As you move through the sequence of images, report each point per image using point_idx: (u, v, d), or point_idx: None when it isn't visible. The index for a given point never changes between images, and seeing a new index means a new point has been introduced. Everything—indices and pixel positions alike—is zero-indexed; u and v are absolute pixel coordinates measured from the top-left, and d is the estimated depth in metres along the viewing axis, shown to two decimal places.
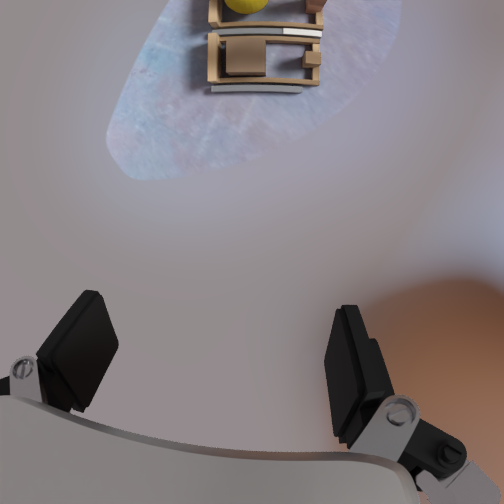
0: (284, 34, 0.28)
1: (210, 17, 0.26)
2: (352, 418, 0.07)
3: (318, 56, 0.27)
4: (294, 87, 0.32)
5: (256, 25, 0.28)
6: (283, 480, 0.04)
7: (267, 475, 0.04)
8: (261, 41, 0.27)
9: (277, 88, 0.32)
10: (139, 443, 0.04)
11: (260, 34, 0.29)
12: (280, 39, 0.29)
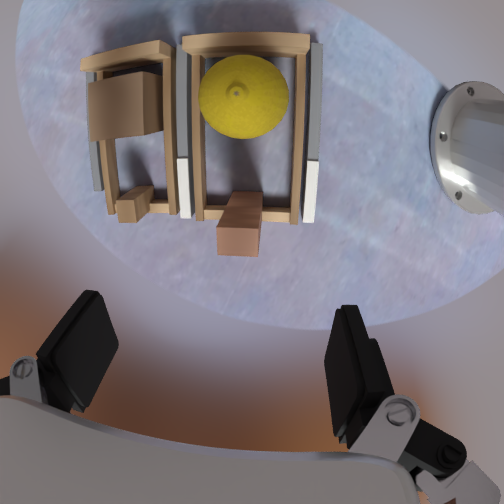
0: None
1: (192, 38, 0.14)
2: (352, 418, 0.07)
3: (129, 219, 0.21)
4: (98, 180, 0.22)
5: None
6: (283, 480, 0.04)
7: (266, 475, 0.04)
8: (136, 129, 0.17)
9: (93, 157, 0.21)
10: (139, 443, 0.04)
11: None
12: (166, 154, 0.20)
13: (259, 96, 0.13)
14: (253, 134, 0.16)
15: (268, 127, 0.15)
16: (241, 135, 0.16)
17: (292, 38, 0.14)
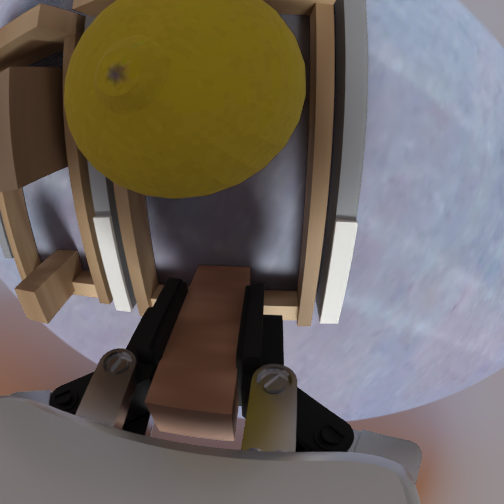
0: (99, 216, 0.11)
1: None
2: None
3: (38, 317, 0.11)
4: (5, 243, 0.12)
5: None
6: (283, 480, 0.04)
7: (267, 475, 0.04)
8: (8, 179, 0.07)
9: None
10: (139, 443, 0.04)
11: None
12: (77, 209, 0.11)
13: (210, 74, 0.03)
14: (209, 192, 0.06)
15: (251, 171, 0.06)
16: (176, 198, 0.06)
17: None
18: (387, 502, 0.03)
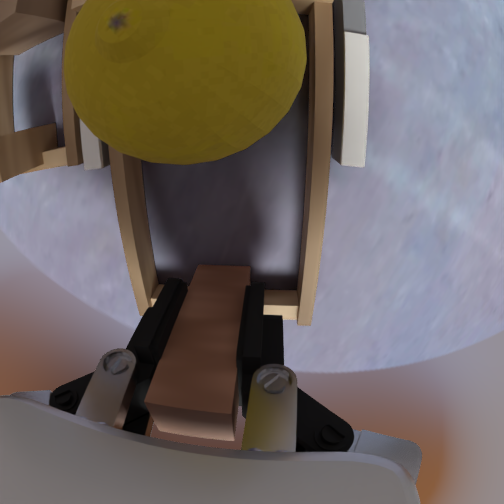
0: None
1: None
2: None
3: None
4: None
5: None
6: (283, 480, 0.04)
7: (266, 475, 0.04)
8: (8, 9, 0.04)
9: None
10: (139, 443, 0.04)
11: None
12: (64, 53, 0.07)
13: (211, 22, 0.03)
14: (211, 154, 0.05)
15: (253, 131, 0.05)
16: (175, 160, 0.05)
17: None
18: (387, 502, 0.03)
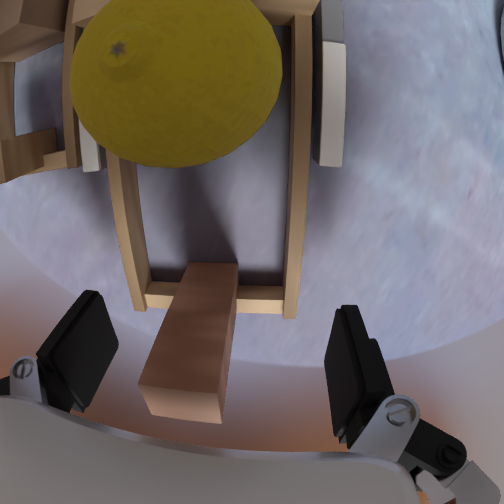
0: None
1: (89, 0, 0.05)
2: (352, 418, 0.07)
3: None
4: None
5: None
6: (283, 480, 0.04)
7: (267, 476, 0.04)
8: (12, 19, 0.05)
9: None
10: (139, 443, 0.04)
11: None
12: (64, 62, 0.08)
13: (194, 48, 0.04)
14: (196, 158, 0.06)
15: (232, 138, 0.06)
16: (166, 164, 0.06)
17: None
18: (387, 502, 0.03)
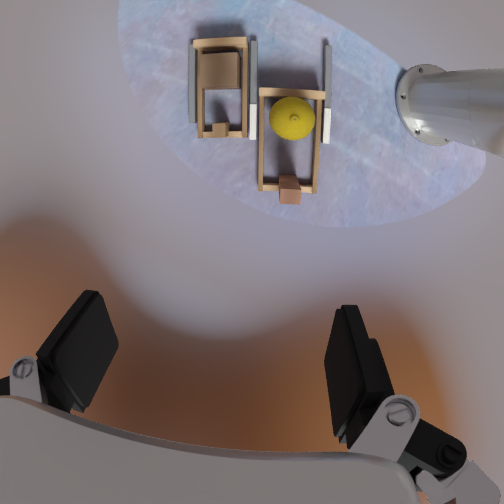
0: (250, 105, 0.34)
1: (264, 89, 0.31)
2: (352, 418, 0.07)
3: (220, 135, 0.34)
4: (193, 115, 0.35)
5: (259, 130, 0.35)
6: (283, 480, 0.04)
7: (266, 475, 0.04)
8: (232, 83, 0.30)
9: (191, 101, 0.34)
10: (139, 443, 0.04)
11: None
12: (243, 101, 0.34)
13: (304, 120, 0.29)
14: (299, 138, 0.32)
15: (306, 134, 0.32)
16: (293, 138, 0.32)
17: (316, 93, 0.31)
18: (387, 502, 0.03)
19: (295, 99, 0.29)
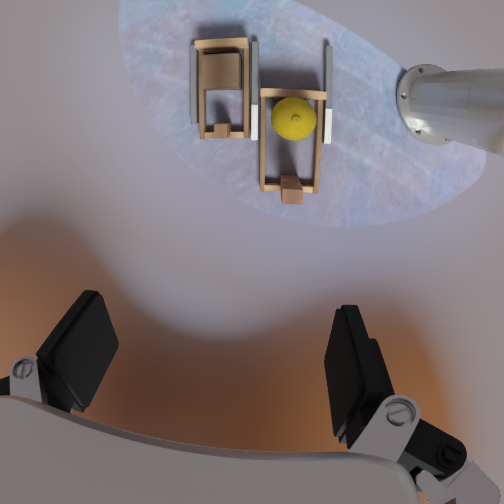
0: None
1: (266, 90, 0.31)
2: (352, 418, 0.07)
3: (222, 135, 0.34)
4: (195, 116, 0.35)
5: None
6: (283, 480, 0.04)
7: (267, 475, 0.04)
8: (234, 83, 0.30)
9: (193, 101, 0.34)
10: (139, 443, 0.04)
11: (252, 84, 0.33)
12: (244, 102, 0.34)
13: (305, 120, 0.29)
14: (300, 138, 0.32)
15: (307, 135, 0.32)
16: (295, 138, 0.32)
17: (317, 94, 0.31)
18: (387, 502, 0.03)
19: (296, 100, 0.29)
